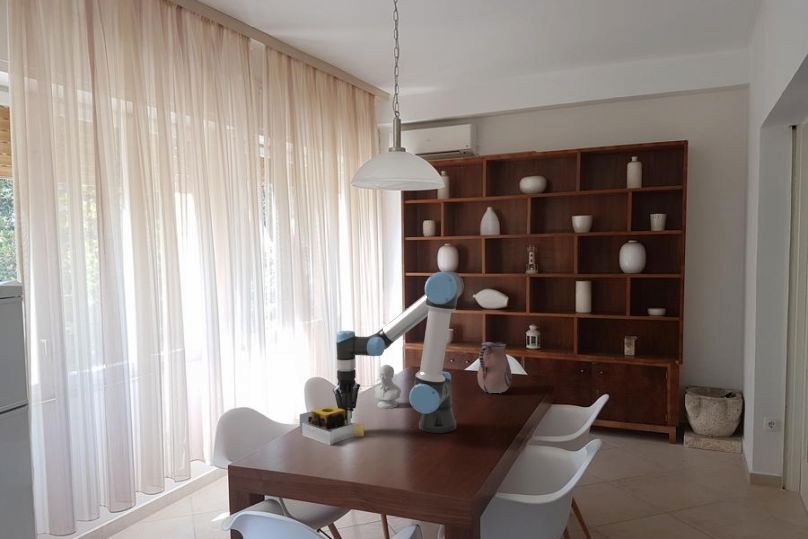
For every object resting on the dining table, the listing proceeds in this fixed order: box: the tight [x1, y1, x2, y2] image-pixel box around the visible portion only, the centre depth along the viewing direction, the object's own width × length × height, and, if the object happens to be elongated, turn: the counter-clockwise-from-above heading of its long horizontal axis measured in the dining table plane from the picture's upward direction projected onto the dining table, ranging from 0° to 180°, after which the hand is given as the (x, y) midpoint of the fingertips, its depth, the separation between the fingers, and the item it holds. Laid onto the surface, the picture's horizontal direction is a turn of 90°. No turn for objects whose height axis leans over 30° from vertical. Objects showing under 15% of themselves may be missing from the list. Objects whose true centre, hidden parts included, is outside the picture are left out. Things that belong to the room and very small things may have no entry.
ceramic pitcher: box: [476, 341, 513, 394], centre depth 285 cm, size 18×21×25 cm
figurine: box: [374, 364, 402, 409], centre depth 263 cm, size 9×13×20 cm
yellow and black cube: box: [310, 405, 345, 430], centre depth 221 cm, size 10×10×10 cm
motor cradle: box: [299, 411, 365, 446], centre depth 222 cm, size 24×16×7 cm
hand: (347, 427), depth 227 cm, fingers closed
